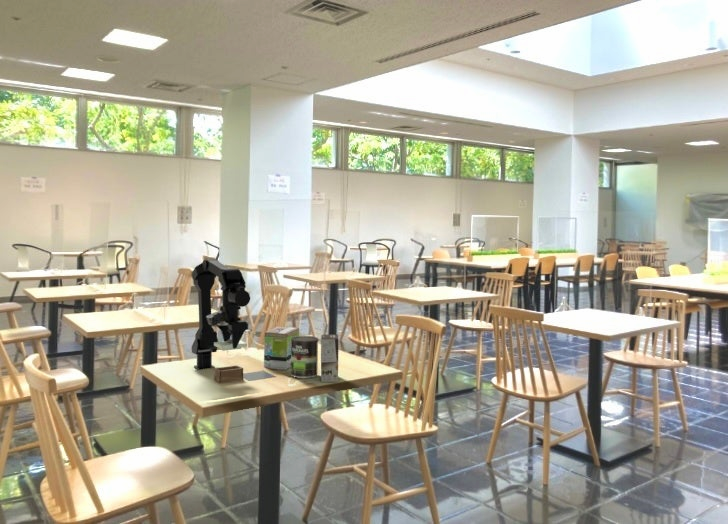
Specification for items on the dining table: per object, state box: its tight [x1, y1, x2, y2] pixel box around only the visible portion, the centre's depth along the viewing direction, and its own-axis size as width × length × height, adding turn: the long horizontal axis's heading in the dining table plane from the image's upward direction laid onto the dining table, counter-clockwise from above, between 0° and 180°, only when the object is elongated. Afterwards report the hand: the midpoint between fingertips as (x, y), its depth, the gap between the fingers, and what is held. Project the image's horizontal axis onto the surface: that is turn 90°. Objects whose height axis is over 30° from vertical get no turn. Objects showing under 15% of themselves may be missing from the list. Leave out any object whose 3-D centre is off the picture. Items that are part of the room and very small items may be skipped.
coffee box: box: [320, 334, 339, 383], centre depth 221 cm, size 9×6×16 cm
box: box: [213, 364, 244, 384], centre depth 215 cm, size 5×9×5 cm, turn 125°
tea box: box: [263, 326, 300, 371], centre depth 241 cm, size 15×10×15 cm, turn 168°
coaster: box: [243, 370, 277, 382], centre depth 221 cm, size 11×11×1 cm
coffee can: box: [290, 335, 319, 379], centre depth 226 cm, size 10×10×14 cm
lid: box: [214, 338, 248, 352], centre depth 215 cm, size 7×10×3 cm
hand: (230, 346), depth 215 cm, fingers closed on lid, 7 cm apart
